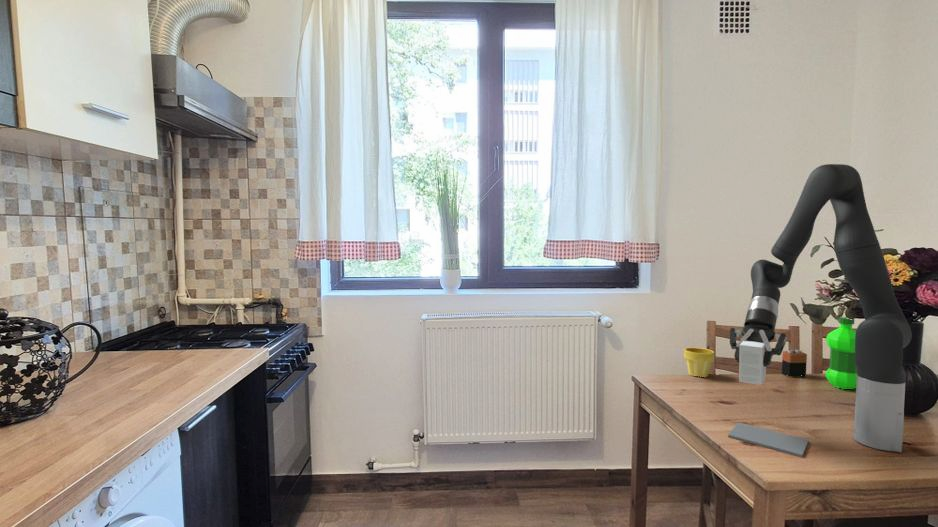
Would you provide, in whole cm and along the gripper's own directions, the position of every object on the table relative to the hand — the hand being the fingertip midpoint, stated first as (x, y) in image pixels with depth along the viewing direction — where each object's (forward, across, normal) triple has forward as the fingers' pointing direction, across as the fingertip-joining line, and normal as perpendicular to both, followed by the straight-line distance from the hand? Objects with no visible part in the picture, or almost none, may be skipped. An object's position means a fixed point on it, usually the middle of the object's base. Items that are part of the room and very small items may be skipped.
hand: (751, 362), depth 124 cm
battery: (-34, 0, +61) cm, 70 cm away
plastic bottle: (-31, +15, +58) cm, 67 cm away
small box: (+3, 0, +5) cm, 6 cm away
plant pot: (-17, -26, +43) cm, 53 cm away
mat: (+16, +5, +10) cm, 20 cm away
